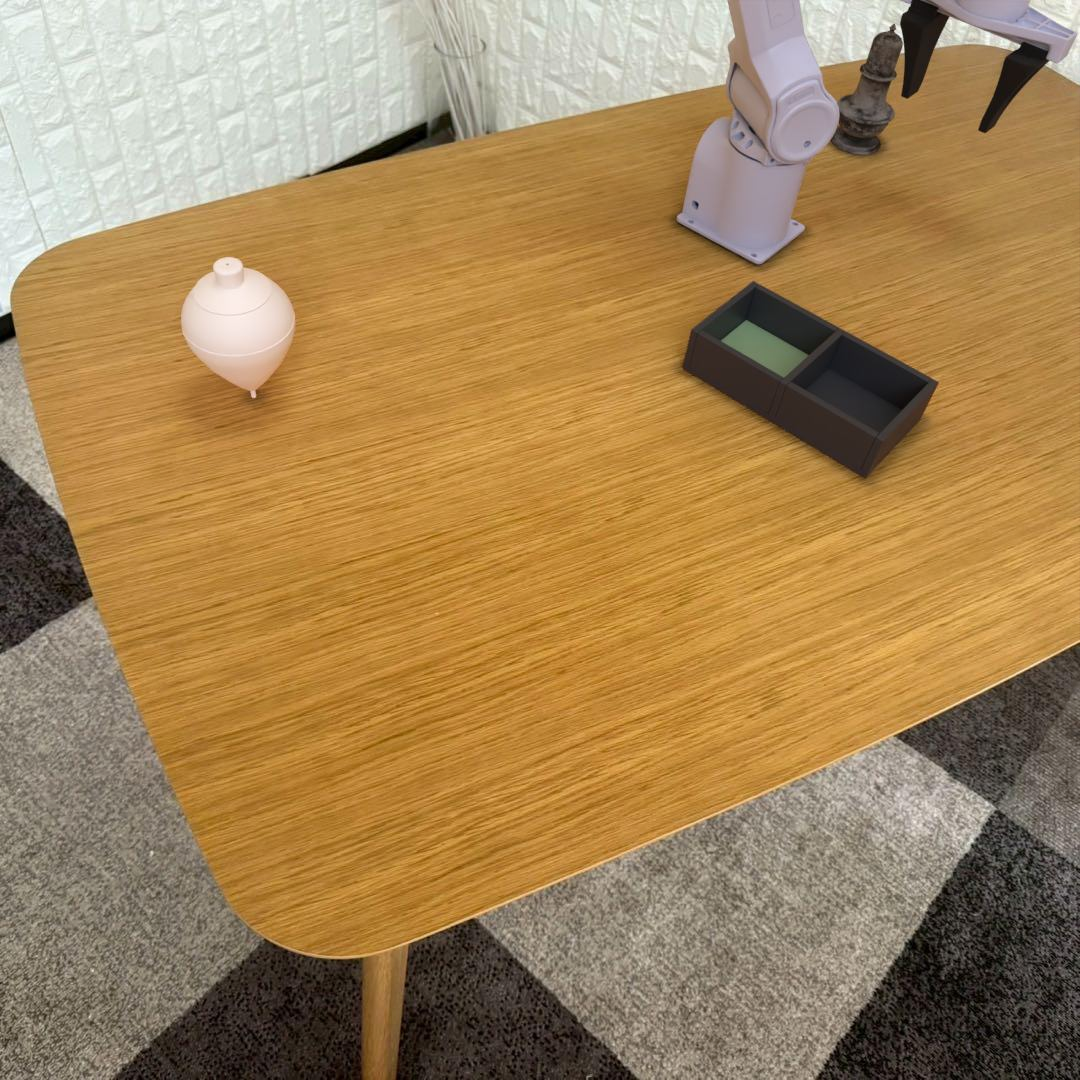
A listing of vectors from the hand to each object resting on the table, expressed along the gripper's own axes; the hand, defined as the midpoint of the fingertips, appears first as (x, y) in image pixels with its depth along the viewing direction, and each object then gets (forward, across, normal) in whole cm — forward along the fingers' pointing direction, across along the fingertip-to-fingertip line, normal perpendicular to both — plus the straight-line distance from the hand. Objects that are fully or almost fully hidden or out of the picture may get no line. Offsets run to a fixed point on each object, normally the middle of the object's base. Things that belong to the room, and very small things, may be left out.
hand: (947, 110), depth 90 cm
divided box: (+10, -7, +30) cm, 32 cm away
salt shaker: (+10, +10, -8) cm, 17 cm away
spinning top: (+10, +22, +61) cm, 65 cm away
